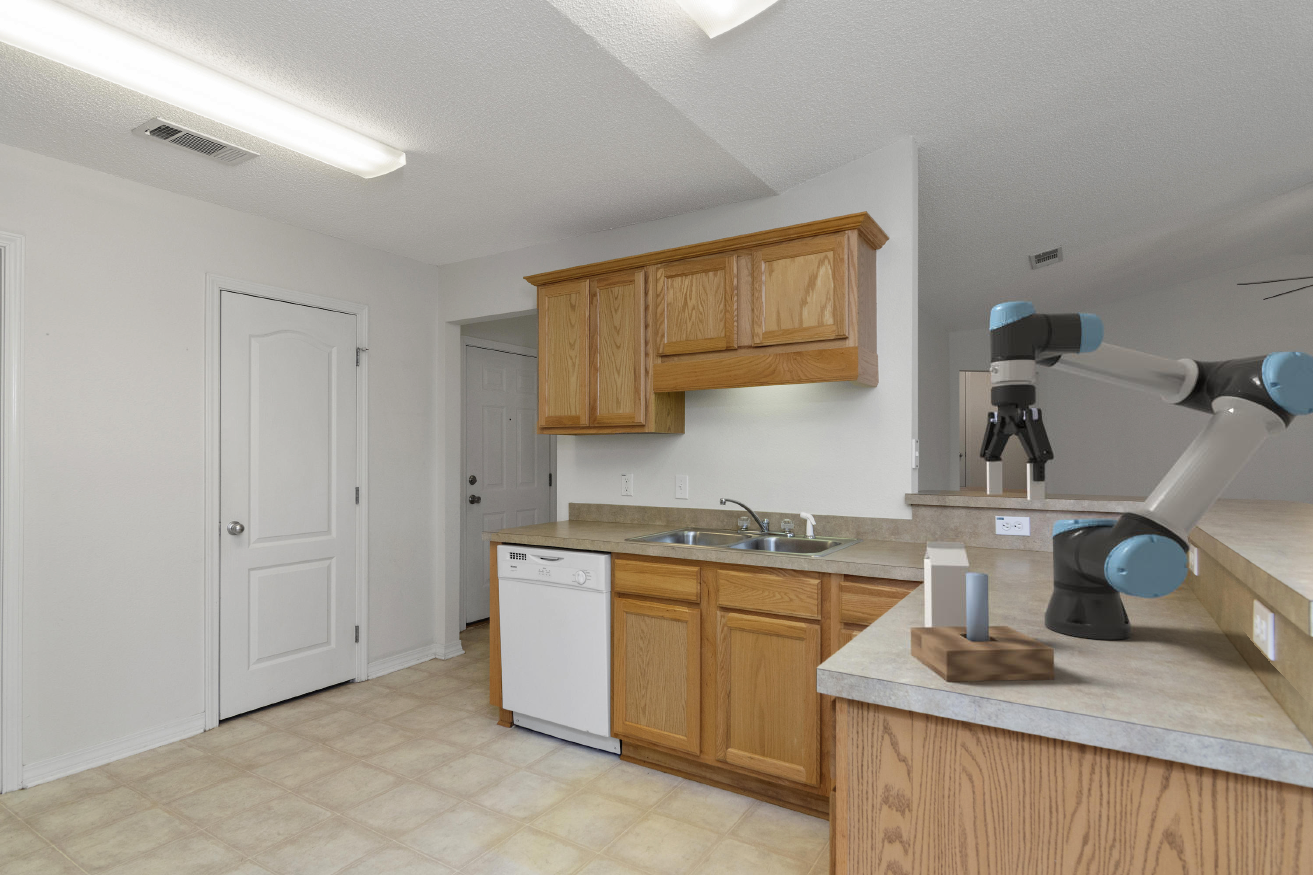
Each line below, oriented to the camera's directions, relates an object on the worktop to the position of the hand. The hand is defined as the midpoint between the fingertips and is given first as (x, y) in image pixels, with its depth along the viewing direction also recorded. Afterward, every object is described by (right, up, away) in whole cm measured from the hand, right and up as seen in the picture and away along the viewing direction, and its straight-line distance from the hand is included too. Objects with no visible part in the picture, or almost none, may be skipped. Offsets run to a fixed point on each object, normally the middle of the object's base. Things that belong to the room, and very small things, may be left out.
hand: (1014, 497), depth 127 cm
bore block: (-11, -29, -10) cm, 32 cm away
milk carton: (-9, -29, +8) cm, 32 cm away
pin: (-12, -28, -10) cm, 32 cm away
